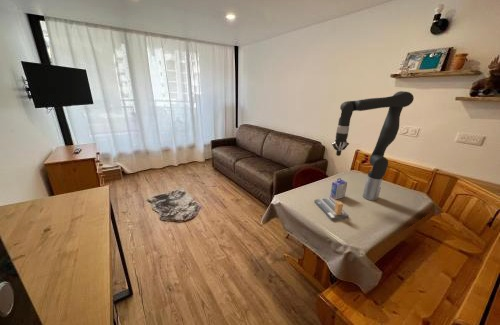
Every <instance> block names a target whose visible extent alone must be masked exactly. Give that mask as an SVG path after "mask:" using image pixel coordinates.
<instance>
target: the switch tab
mask: <svg viewBox="0 0 500 325" xmlns="http://www.w3.org/2000/svg"><path fill="white" fill-rule="evenodd" d="M335 203H336V204H335V209H334V212H335V213H336V214H337V215H341V213H342V210H343V207H344V203H343V202H342V201H341V200H340V201H335Z"/></svg>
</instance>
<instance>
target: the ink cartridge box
mask: <svg viewBox="0 0 500 325" xmlns="http://www.w3.org/2000/svg"><path fill="white" fill-rule="evenodd" d="M347 187H348V181H345V180H343V179H342V177H341V178H340V177H339V178H337V179H336V181H332V183H331V190H330V198H332V200H333V199H334V200H338V199H342V198H345V197H346V192H347Z"/></svg>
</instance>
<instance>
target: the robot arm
mask: <svg viewBox="0 0 500 325" xmlns="http://www.w3.org/2000/svg"><path fill="white" fill-rule="evenodd" d="M414 97H415V96H414V95H413V94H412V93H411V92H409V91H401V90H400V91H396V92H395V93H394V94H393V95H391V96H386V97H372V98H364V99H358V100H347V101H344V102H342V103H341V104H340V110H341V112H340V117H339V118H338V124H337V126H336V134H335V140H334V142H331V146H332V148H333V149H334V150H335V151H336V153H335V154H336V156H337V157H339V156H341V155H342V151H345V150H346V148H347V147H348V146H349V145H350V143H349V142H348V140H347V139H348V137H349V131H350V125H351V124H350V123H351V118H352V115H353V112H355V111H357V112H362V111H370V110H376V109H382V108H385V109H386V108H388V111H387V115H386V117H385V119H384V122H383V125H382V127H381V130H380V132H379V135H378V138H377V142H376V143H375V147H374V149H373V151H372V153H371V155H370V157H369V164H370V165H371V166H372V169H371V170H370V171H368V172H367V177H366V180H365V183H364V188H363V189H364V190H363V192H362V193H363V194H362V197H363V198H364V199H365V200H367V201H376V200H378V199H379V196H380V192H381V185H382V181H383V177H384V176H385V175H386V174H387V173H386V172H387V170H388V167H389V160H388V159H387V158H386V157H385V153H386V150H387V149H388V147H389V146H390V145H391V144H392V143H393V142H394V141H395V139H396V137H397V135H398V132H399V129H400V121H401V120H400V117H401V114H402V111H403V109H404V108H406V107H409V106H410V105H411V104H412V103H413V101H414Z"/></svg>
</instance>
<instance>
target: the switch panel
mask: <svg viewBox="0 0 500 325" xmlns="http://www.w3.org/2000/svg"><path fill="white" fill-rule="evenodd" d="M314 204H315V205H316V206H317V207H318V208H319V209H320V210H321V211H322V213H324V215H326V217H327V218H328V219H329V220H330V221H336V220H337V221H338V220H344V219H348V218H349V215H348V213H347V212H346V211H344V210H343V209H342V213H341V215H337V214H336V213H335V212H334V209H335V204H336V201H334V200H333V199H331V197H325V198H321V197H319V198H317V199H314Z"/></svg>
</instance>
